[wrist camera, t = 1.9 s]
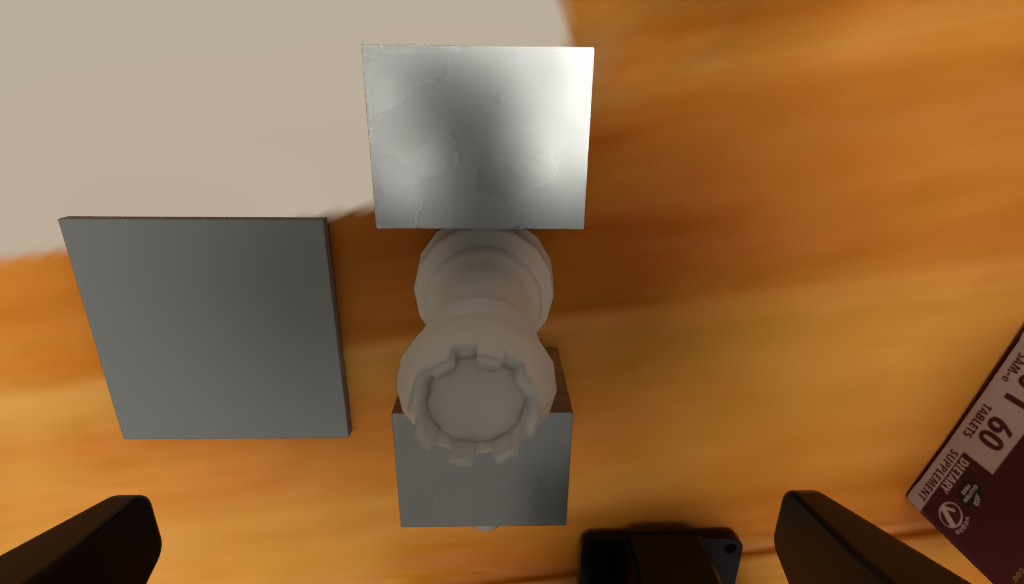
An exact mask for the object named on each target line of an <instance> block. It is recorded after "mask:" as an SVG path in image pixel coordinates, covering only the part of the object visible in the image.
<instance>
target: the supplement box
mask: <svg viewBox="0 0 1024 584" xmlns="http://www.w3.org/2000/svg"><path fill="white" fill-rule="evenodd" d="M907 498H908V500H909V502H910V503H911V504H912V505H913V506H914V507H915V508H917V509H918V510H919V511H920V512H921V514H922V515H923V516H925V517H926V518H927V519H928V520H929V521H930V522H931V523H932V524H933V525H934V526H935V527H936V528H937V529H938V530H939V531H940V532H941V533H942V534H943V535H944V536H945V537H946V538H947V539H948V540H949V541H950V542H951V543H952V544H953V545H954V546H955V547H956V548H957V549H958V550H959V551H960V552H961V553H962V554H963V555H964V556H965V557H966V558H967V559H968V560H969V561H970V562H971V563H972V564H973V565H974V566H975V567H976V568H977V569H978V570H979V571H981V572H982V573H983V574H984V575H985V576H986V577H987V578H988V579H989V580H990V581H991V582H992V583H993V584H1024V331H1023V333H1022V335H1021V337H1020V339H1019V341H1018V343H1017V344H1016V345H1015V347H1014V348H1013V350H1012V351H1011V353H1010V354H1009V356H1008V357H1007V359H1006V360H1005V361H1004V363H1003V364H1002V366H1001V367H1000V369H999V370H998V371H997V373H996V374H995V376H994V377H993V379H992V380H991V382H990V383H989V385H988V386H987V387H986V389H985V390H984V392H983V393H982V395H981V396H980V398H979V399H978V400H977V402H976V403H975V405H974V406H973V407H972V409H971V410H970V412H969V413H968V415H967V416H966V417H965V419H964V420H963V422H962V423H961V425H960V426H959V427H958V429H957V430H956V432H955V433H954V434H953V436H952V437H951V439H950V440H949V441H948V443H947V444H946V446H945V447H944V448H943V450H942V451H941V452H940V454H939V455H938V456H937V458H936V459H935V460H934V462H933V463H932V465H931V466H930V467H929V469H928V470H927V471H926V473H925V474H924V475H923V477H922V478H921V480H920V481H919V482H918V483H917V484H916V485H915V486H914V487H913V488H912V490H911V491H910V492H909V494H908V496H907Z"/></svg>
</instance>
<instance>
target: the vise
mask: <svg viewBox="0 0 1024 584" xmlns="http://www.w3.org/2000/svg"><path fill="white" fill-rule="evenodd" d="M361 49H362V61H363V73H364V85H365V97H366V109H367V121H368V133H369V144H370V157H371V169H372V182H373V194H374V206H375V218H376V228H444V229H584V214H585V198H586V181H587V164H588V147H589V130H590V113H591V96H592V80H593V63H594V47H532V46H530V47H529V46H458V45H457V46H456V45H454V46H453V45H452V46H451V45H384V44H361ZM545 350H546V352H547V353H548V355H549V356H550V358H551V360H552V361H553V363H554V371H555V379H556V387H557V391H556V394H555V397H554V400H553V403H552V406H551V409H550V413H549V416H548V417H547V418H546V419H545V420H544V421H543V423H542V424H541V425H540V426H539V428H538V431H537V434H536V437H535V438H534V437H532V436H530V437H528V438H526V439H524V440H522V441H520V442H519V456H517V457H515V458H513V459H511V460H509V461H507V462H505V463H503V464H501V465H499V466H497V464H496V461H495V459H494V457H493V452H488V453H481V454H474V458H473V469H467V468H462V467H457V466H452V465H448V460H449V453H450V450H449V449H446V448H444V447H442V446H441V445H439V444H436V445H435V446H434V447H433V448H431V449H430V450H429V451H428V452H426V451H425V450H424V448H423V447H422V446H421V445H420V443H419V442H418V441H417V439H416V438H415V437H414V436H413V434H412V432H413V428H414V425H413V424H412V422H411V421H410V420H409V419H408V417H407V416H406V415H405V413H404V412H403V411H402V407H401V403H400V399H399V395H398V397H397V400H396V403H395V406H394V408H393V411H392V423H393V436H394V448H395V460H396V472H397V484H398V496H399V508H400V520H401V527H455V526H472V527H474V528H475V529H477V530H480V531H490V530H493V529H496V528H497V527H498V526H550V525H566V518H567V501H568V484H569V467H570V450H571V433H572V417H573V412H572V408H571V403H570V399H569V395H568V391H567V387H566V382H565V378H564V374H563V370H562V366H561V362H560V357H559V353H558V349H557V348H545Z"/></svg>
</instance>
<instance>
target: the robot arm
mask: <svg viewBox="0 0 1024 584" xmlns="http://www.w3.org/2000/svg"><path fill="white" fill-rule="evenodd" d="M774 543H775V548H776V552H777V555H778V557H779V560H780V562H781V565H782V567H783V570H784V572H785V575H786V577H787V580H788V582H789V584H971V583H969V582H968V581H966V580H964V579H963V578H961V577H959V576H958V575H956V574H954V573H953V572H951V571H950V570H948V569H946V568H945V567H943V566H941V565H940V564H938V563H936V562H935V561H933V560H931V559H930V558H928V557H926V556H925V555H923V554H921V553H920V552H918V551H916V550H915V549H913V548H911V547H910V546H908V545H907V544H905V543H903V542H902V541H900V540H898V539H897V538H895V537H893V536H892V535H890V534H888V533H887V532H885V531H883V530H882V529H880V528H878V527H877V526H875V525H873V524H872V523H870V522H869V521H867V520H865V519H864V518H862V517H860V516H859V515H857V514H855V513H854V512H852V511H850V510H849V509H847V508H845V507H844V506H842V505H840V504H839V503H837V502H835V501H834V500H832V499H831V498H829V497H827V496H826V495H824V494H822V493H820V492H818V491H814V490H791V491H788V492H787V493H786V494H785V495H784V496H783V499H782V503H781V508H780V512H779V516H778V520H777V525H776V529H775V534H774ZM728 544H729V545H728ZM593 545H596V546H594V547H590V546H593ZM161 547H162V540H161V536H160V532H159V529H158V525H157V522H156V518H155V515H154V511H153V508H152V504H151V502H150V500H149V499H148V498H147V497H146V496H142V495H117V496H112V497H110V498H107V499H105V500H104V501H102V502H100V503H98V504H96V505H94V506H92V507H91V508H89V509H87V510H85V511H83V512H81V513H79V514H77V515H76V516H74V517H72V518H70V519H68V520H66V521H64V522H62V523H61V524H59V525H57V526H55V527H53V528H51V529H49V530H47V531H46V532H44V533H42V534H40V535H38V536H36V537H34V538H33V539H31V540H29V541H27V542H25V543H23V544H21V545H19V546H18V547H16V548H14V549H12V550H10V551H8V552H6V553H4V554H3V555H1V556H0V584H146V583H147V581H148V579H149V577H150V575H151V573H152V571H153V569H154V567H155V565H156V563H157V561H158V559H159V556H160V552H161ZM741 553H742V543H741V542H740V540H739V538H738V536H737V535H736V534H735V533H734V532H731V531H690V532H599V533H588V534H586V535H584V536H583V537H582V538H581V541H580V548H579V562H578V576H577V584H735V581H736V576H737V571H738V567H739V562H740V557H741Z"/></svg>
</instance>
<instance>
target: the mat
mask: <svg viewBox="0 0 1024 584" xmlns="http://www.w3.org/2000/svg"><path fill="white" fill-rule="evenodd" d="M58 221H59V224H60V228H61V231H62V234H63V238H64V241H65V244H66V248H67V251H68V254H69V258H70V261H71V264H72V268H73V271H74V274H75V278H76V281H77V285H78V288H79V291H80V295H81V298H82V301H83V305H84V308H85V311H86V315H87V318H88V321H89V325H90V328H91V331H92V335H93V338H94V341H95V345H96V348H97V351H98V355H99V358H100V361H101V365H102V368H103V371H104V375H105V378H106V381H107V385H108V388H109V392H110V395H111V398H112V402H113V405H114V408H115V412H116V415H117V418H118V422H119V425H120V428H121V432H122V435H123V438H124V439H259V438H349V436H350V434H351V423H350V414H349V405H348V397H347V388H346V379H345V371H344V362H343V354H342V345H341V336H340V328H339V319H338V310H337V302H336V293H335V285H334V276H333V267H332V259H331V250H330V241H329V233H328V224H327V218H297V217H91V216H88V217H87V216H85V217H84V216H68V217H64V218H60V219H58Z"/></svg>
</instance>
